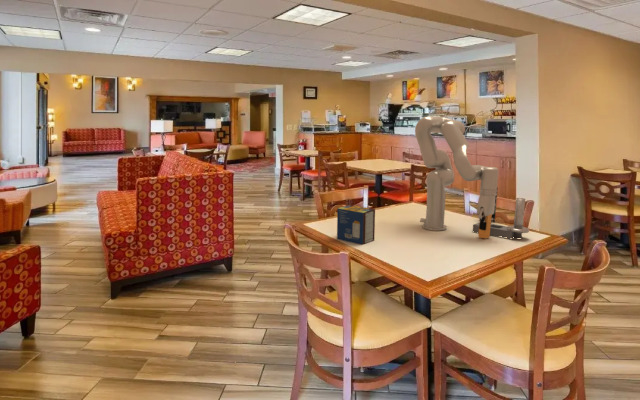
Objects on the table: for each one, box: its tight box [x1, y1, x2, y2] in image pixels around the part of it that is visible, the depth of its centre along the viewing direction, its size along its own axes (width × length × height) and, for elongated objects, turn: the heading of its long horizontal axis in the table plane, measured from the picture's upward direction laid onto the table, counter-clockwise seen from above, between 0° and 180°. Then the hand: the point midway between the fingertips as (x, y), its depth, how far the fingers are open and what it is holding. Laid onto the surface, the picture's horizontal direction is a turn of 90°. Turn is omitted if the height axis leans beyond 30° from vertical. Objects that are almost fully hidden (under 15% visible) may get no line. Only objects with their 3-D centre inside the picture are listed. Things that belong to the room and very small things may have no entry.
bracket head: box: [472, 222, 514, 238], centre depth 217 cm, size 20×9×4 cm, turn 45°
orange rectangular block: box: [477, 214, 492, 239], centre depth 208 cm, size 4×4×12 cm
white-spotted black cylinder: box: [491, 186, 499, 223], centre depth 245 cm, size 8×8×20 cm
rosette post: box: [507, 197, 530, 238], centre depth 208 cm, size 10×10×20 cm
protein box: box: [336, 204, 376, 245], centre depth 204 cm, size 10×15×16 cm
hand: (484, 228), depth 209 cm, fingers closed on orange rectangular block, 4 cm apart
